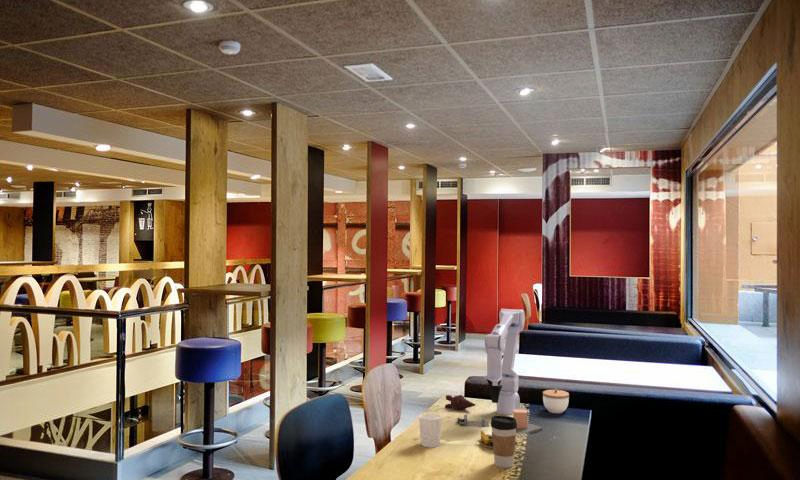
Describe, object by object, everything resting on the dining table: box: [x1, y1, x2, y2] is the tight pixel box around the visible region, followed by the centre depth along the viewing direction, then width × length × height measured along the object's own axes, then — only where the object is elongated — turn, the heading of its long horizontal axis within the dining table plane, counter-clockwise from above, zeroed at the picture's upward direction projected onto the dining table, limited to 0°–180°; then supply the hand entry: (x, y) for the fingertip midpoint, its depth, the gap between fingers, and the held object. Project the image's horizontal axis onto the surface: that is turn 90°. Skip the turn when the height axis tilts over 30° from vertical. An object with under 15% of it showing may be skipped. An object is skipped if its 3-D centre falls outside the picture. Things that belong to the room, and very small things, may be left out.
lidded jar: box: [542, 388, 570, 414], centre depth 253 cm, size 11×11×9 cm
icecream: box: [444, 394, 476, 411], centre depth 253 cm, size 7×7×15 cm
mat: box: [516, 422, 543, 435], centre depth 229 cm, size 11×11×1 cm
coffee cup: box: [490, 415, 517, 469], centre depth 193 cm, size 8×8×15 cm
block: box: [512, 408, 528, 429], centre depth 229 cm, size 5×4×6 cm
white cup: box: [418, 412, 442, 449], centre depth 212 cm, size 8×8×10 cm
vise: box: [456, 414, 490, 428], centre depth 233 cm, size 12×7×4 cm, turn 83°
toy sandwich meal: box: [478, 430, 517, 450], centre depth 212 cm, size 12×14×5 cm
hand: (494, 399), depth 235 cm, fingers open, 7 cm apart
